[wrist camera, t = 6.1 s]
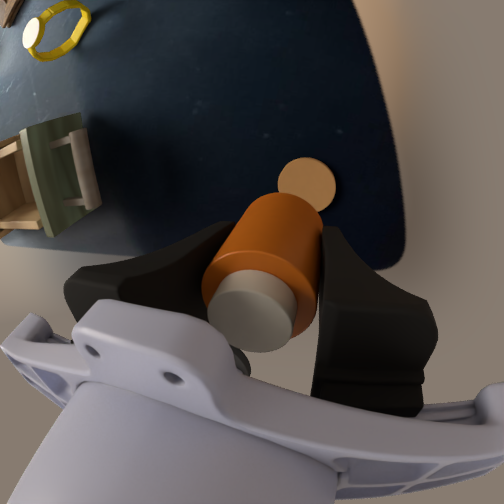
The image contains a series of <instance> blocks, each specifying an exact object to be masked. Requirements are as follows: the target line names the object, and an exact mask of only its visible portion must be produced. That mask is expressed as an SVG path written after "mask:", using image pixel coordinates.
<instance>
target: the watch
mask: <svg viewBox="0 0 504 504" xmlns="http://www.w3.org/2000/svg"><path fill="white" fill-rule="evenodd" d="M70 8H80V9H81V13H82V17H81V19H80V21H79V22H78V24H77V26H76V28H75V30H74V32H73V34H72V35H71V37H70V39H68V40H67V41H66V42H65V43H64V44H62V45H61V46H60V47H58V48H56V49H54V50H52V51H50V52H41V53H38V52H37V51H36V49H35V47H36V46H37V45H38V44H39V43H40V41H41V39H42V37H43V35H44V31H45V24H46V23H47V22H48V21H49V20H50V19H51V18H52V17H53V16H54V15H56V14H58V13H60V12H62V11H64V10H66V9H70ZM89 22H91V13H90V10H89V9H88V8H87V7H86V6H84V5H83V4H82V3H80V2H79V1H77V0H64V1H61V2H59V3H57V4H55V5H53V6H51V7H49V8H48V9H46V10H45V11H44V12H43V13H42V14H41V15H40V16H39V17H36V18H33V19H31V20H30V21H29V23H28V24H27V26H26V28H25V30H24V34H23V45H24V47H25V48H26V49H28V51H29V52H30V54H31V55H32V56H33V57H34V58H35V59H37V60H39V61H40V62H41V61H42V62H45V61H53V60H55V59H57V58H59V57H61V56H63V55H65V54H66V53H68V52H69V51H70V50H71V49H73V48H74V47H75V46H76V45H77V44H78V42H79V40H80V38H81V36H82V34H83V33H84V31H85V29H86V27H87V26H88V24H89Z"/></svg>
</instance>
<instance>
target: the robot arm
mask: <svg viewBox="0 0 504 504" xmlns="http://www.w3.org/2000/svg"><path fill="white" fill-rule="evenodd" d="M234 227H235V222H231V221H221V222H218V223H215V224H213V225H211V226H209V227H207V228H205V229H203V230H201V231H199V232H197V233H195V234H193V235H191V236H189V237H187V238H185V239H183V240H181V241H179V242H176V243H174V244H172V245H170V246H168V247H165V248H163V249H160V250H157V251H155V252H152V253H149V254H145V255H142V256H139V257H135V258H132V259H128V260H124V261H119V262H114V263H109V264H101V265H93V266H84V267H81V268H80V269H78V270H77V271H76V272H75V273H74V274H73V275H72V276H71V277H70V278H69V279H68V280H67V281H66V282H65V284H64V296H65V299H66V302H67V304H68V306H69V308H70V310H71V312H72V314H73V316H74V318H75V319H76V321H77V324H76V325H75V326H74V328H73V331H72V340H69V339H66V338H64V337H62V336H60V335H57V334H55V333H53V331H52V329H51V327H50V325H49V324H48V322H47V321H46V320H45V319H44V318H43V317H41V316H38V315H36V314H34V313H29V315H28V316H27V317H26V318H25V319H24V320H23V321H22V322H21V323H20V324H19V325H18V326H17V327H16V328H15V330H13V332H12V333H11V334H10V335H9V336H8V337H7V338H6V339H5V340H4V342H3V343H2V344H1V345H0V348H1V349H2V350H3V352H4V353H5V354H6V356H7V357H8V359H9V360H10V361H11V362H12V364H13V365H14V366H15V368H16V369H17V370H18V371H19V372H20V374H21V375H22V376H23V377H24V378H25V379H26V381H27V382H28V383H29V384H30V385H32V386H33V387H34V388H36V389H37V390H38V391H40V392H41V393H42V394H43V395H45V396H46V397H47V398H49V399H50V400H52V401H53V402H54V403H55V404H57V405H58V406H59V407H61V408H62V409H63V411H62V412H61V414H60V415H59V417H58V418H57V420H56V421H55V423H54V425H53V426H52V428H51V429H50V431H49V432H48V434H47V435H46V437H45V438H44V440H43V442H42V443H41V445H40V447H39V448H38V450H37V452H36V453H35V455H34V456H33V458H32V460H31V461H30V463H29V465H28V466H27V468H26V470H25V472H24V473H23V475H22V477H21V478H20V480H19V482H18V484H17V486H16V488H15V489H14V491H13V493H12V495H11V497H10V498H9V500H8V502H7V504H334V501H335V500H343V499H364V498H376V497H384V496H393V495H400V494H406V493H412V492H418V491H423V490H428V489H433V488H437V487H441V486H446V485H450V484H454V483H458V482H462V481H466V480H469V479H473V478H476V477H480V476H483V475H486V474H487V473H489V472H491V471H492V470H494V469H495V468H497V467H498V466H500V465H501V464H503V463H504V382H500V383H494V384H490V385H488V386H486V387H484V388H483V389H482V390H481V391H480V392H479V393H478V395H477V396H476V398H475V399H474V400H467V401H460V402H451V403H450V402H449V403H438V404H424V403H423V394H422V386H421V384H423V383H424V379H425V377H424V371H423V369H424V367H425V365H426V364H427V362H428V360H429V358H430V356H431V355H432V353H433V351H434V349H435V346H436V343H437V341H438V329H437V326H436V322H435V319H434V316H433V313H432V311H431V309H430V307H429V304H428V302H427V300H424V299H422V298H420V297H418V296H415V295H413V294H410V293H408V292H406V291H404V290H402V289H400V288H399V287H397V286H395V285H393V284H391V283H390V282H388V281H387V280H385V279H384V278H383V277H381V276H380V275H378V274H377V273H376V272H375V271H373V270H372V269H371V268H370V267H369V266H368V265H367V264H365V263H364V262H363V261H362V260H361V259H360V258H359V256H358V255H357V254H356V253H355V252H354V250H353V249H352V248H351V246H350V245H349V244H348V242H347V241H346V239H345V238H344V236H343V235H342V233H341V231H340V229H339V228H338V227H332V226H323V228H322V245H321V275H320V285H319V337H318V345H317V353H316V361H315V368H314V375H313V382H312V388H311V395H310V396H308V395H304V394H301V393H297V392H294V391H291V390H288V389H284V388H281V387H278V386H275V385H272V384H269V383H266V382H263V381H260V380H257V379H255V378H252V377H249V376H246V375H244V374H243V372H242V371H241V370H239V369H237V368H236V365H235V360H234V355H233V351H232V349H231V347H230V346H229V344H228V342H227V340H226V338H225V337H224V335H223V334H222V333H221V332H219V331H218V330H217V329H215V328H214V327H213V326H211V325H210V323H209V320H208V315H207V310H208V309H207V307H206V305H205V303H204V300H203V296H202V290H201V285H202V278H203V275H204V273H205V271H206V269H207V267H208V266H209V264H210V263H211V261H212V260H213V258H214V257H215V256H216V254H217V253H218V251H219V250H220V248H221V247H222V245H223V244H224V242H225V241H226V239H227V238H228V236H229V235H230V233H231V232H232V230H233V229H234Z"/></svg>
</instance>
